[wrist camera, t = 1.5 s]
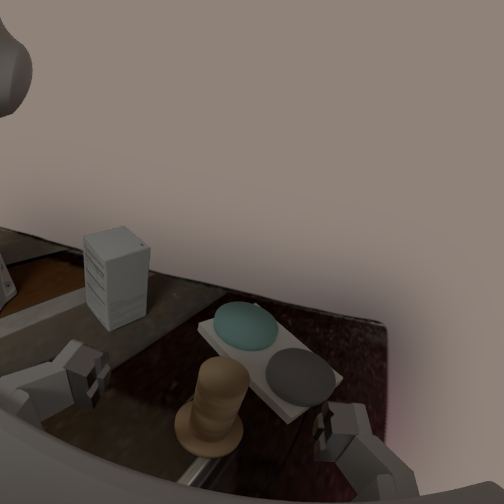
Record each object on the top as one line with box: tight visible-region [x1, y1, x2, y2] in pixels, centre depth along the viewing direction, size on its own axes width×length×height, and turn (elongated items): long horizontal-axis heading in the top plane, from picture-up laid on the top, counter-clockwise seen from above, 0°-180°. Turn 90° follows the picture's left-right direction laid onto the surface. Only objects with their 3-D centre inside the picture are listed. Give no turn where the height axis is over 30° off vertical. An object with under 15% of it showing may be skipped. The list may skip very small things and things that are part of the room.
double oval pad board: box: [198, 302, 343, 424], centre depth 45 cm, size 22×12×3 cm, turn 42°
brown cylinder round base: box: [174, 357, 250, 459], centre depth 30 cm, size 8×8×11 cm
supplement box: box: [83, 226, 150, 332], centre depth 43 cm, size 7×7×13 cm
